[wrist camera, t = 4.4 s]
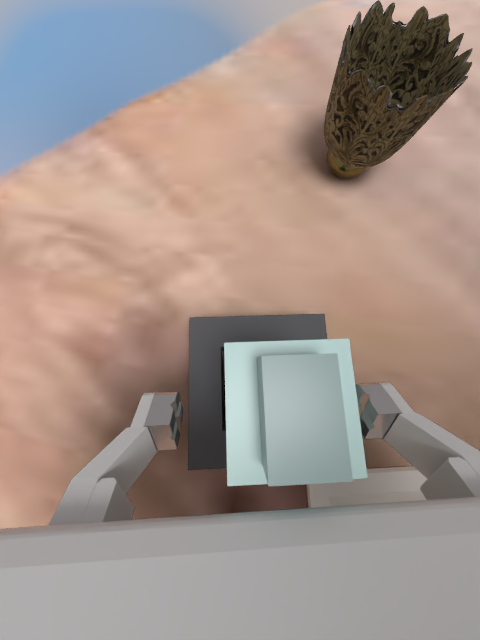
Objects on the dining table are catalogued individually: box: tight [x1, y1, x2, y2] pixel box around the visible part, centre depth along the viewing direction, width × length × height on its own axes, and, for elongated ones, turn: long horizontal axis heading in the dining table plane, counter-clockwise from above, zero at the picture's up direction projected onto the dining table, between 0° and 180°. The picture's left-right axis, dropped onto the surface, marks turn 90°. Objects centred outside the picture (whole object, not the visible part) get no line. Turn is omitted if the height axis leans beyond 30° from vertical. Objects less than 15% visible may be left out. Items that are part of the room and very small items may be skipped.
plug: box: [224, 339, 368, 486], centre depth 11 cm, size 4×4×11 cm
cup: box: [324, 0, 472, 178], centre depth 17 cm, size 8×7×8 cm
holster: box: [188, 314, 327, 470], centre depth 15 cm, size 9×9×2 cm
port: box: [307, 466, 427, 508], centre depth 13 cm, size 12×12×3 cm
